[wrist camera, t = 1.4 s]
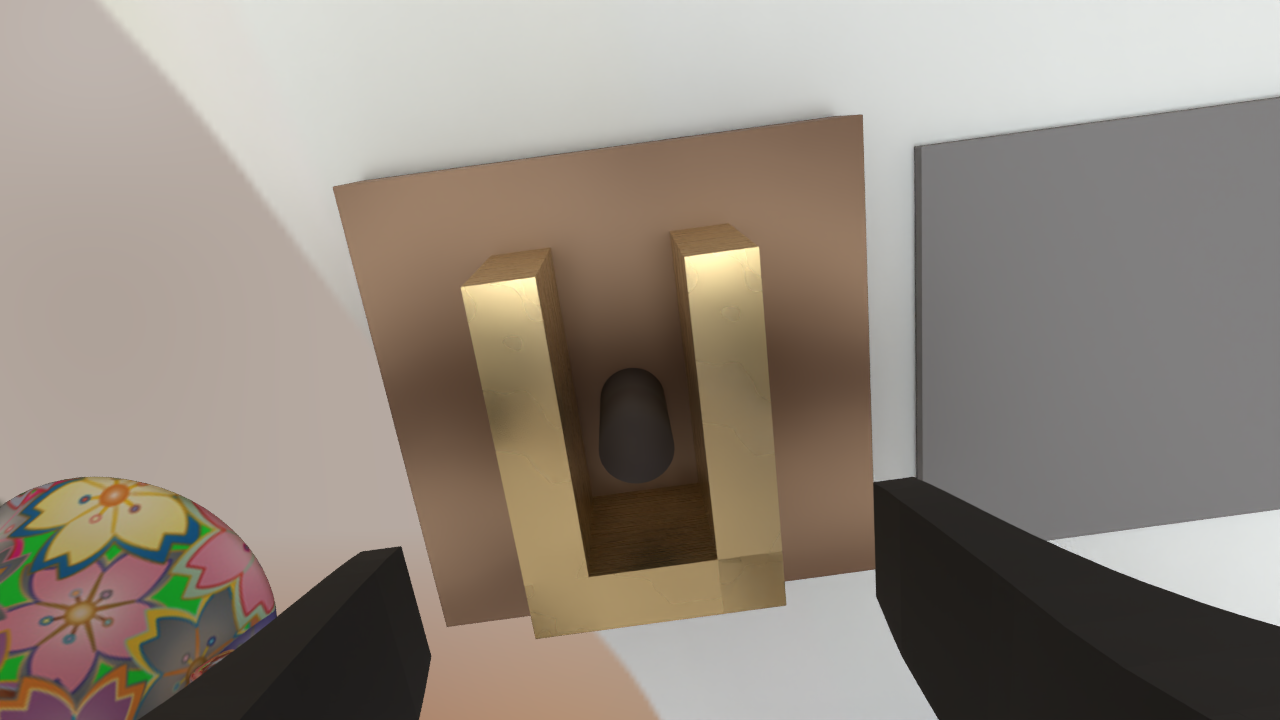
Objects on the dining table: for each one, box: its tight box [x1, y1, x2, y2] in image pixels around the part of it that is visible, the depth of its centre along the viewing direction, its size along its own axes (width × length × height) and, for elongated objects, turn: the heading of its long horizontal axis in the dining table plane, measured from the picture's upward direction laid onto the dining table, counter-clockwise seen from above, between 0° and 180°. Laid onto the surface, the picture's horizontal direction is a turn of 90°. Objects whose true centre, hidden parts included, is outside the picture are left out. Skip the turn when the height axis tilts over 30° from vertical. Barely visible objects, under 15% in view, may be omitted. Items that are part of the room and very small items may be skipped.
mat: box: [915, 97, 1280, 541], centre depth 20 cm, size 12×12×1 cm
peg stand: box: [333, 115, 875, 627], centre depth 17 cm, size 12×12×5 cm
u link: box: [461, 223, 786, 639], centre depth 16 cm, size 8×6×4 cm
